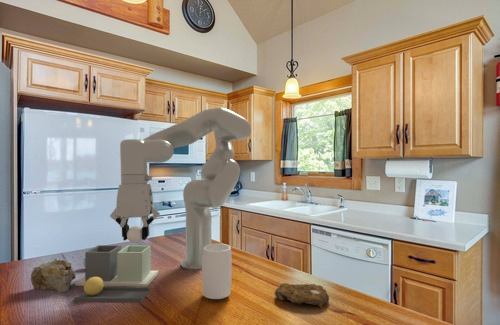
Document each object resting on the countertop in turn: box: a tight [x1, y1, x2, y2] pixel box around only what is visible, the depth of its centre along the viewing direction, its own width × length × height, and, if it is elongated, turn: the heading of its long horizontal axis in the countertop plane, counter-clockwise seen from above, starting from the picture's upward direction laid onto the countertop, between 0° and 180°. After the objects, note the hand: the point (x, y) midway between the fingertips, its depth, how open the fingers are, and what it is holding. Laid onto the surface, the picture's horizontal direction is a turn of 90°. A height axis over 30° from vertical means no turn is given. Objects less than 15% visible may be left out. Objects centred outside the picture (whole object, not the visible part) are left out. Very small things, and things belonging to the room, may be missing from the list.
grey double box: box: [74, 244, 159, 287], centre depth 95 cm, size 22×11×10 cm, turn 90°
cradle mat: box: [70, 286, 152, 303], centre depth 84 cm, size 19×8×1 cm, turn 90°
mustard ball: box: [83, 277, 105, 296], centre depth 84 cm, size 5×5×5 cm
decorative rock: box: [273, 282, 330, 308], centre depth 83 cm, size 11×4×15 cm
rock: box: [30, 258, 77, 293], centre depth 89 cm, size 12×7×10 cm, turn 74°
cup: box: [201, 243, 233, 300], centre depth 84 cm, size 8×8×14 cm
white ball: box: [127, 225, 142, 244], centre depth 90 cm, size 5×5×5 cm
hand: (135, 238), depth 90 cm, fingers closed on white ball, 4 cm apart
